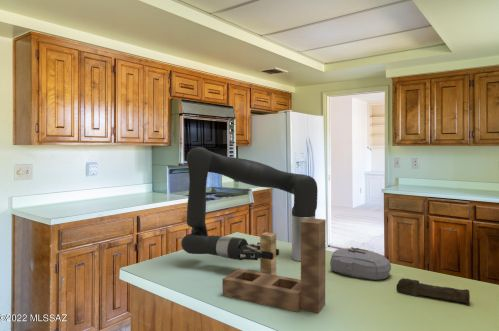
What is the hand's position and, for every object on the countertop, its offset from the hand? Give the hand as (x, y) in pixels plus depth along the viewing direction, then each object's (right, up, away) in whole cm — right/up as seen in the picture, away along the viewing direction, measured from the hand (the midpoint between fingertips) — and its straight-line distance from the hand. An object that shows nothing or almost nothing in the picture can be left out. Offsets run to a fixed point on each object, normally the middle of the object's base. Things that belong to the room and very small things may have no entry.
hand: (275, 254), depth 119 cm
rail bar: (-2, -8, +2) cm, 9 cm away
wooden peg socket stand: (-2, -9, -15) cm, 17 cm away
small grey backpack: (+30, -8, +7) cm, 32 cm away
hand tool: (+44, -9, -15) cm, 48 cm away
